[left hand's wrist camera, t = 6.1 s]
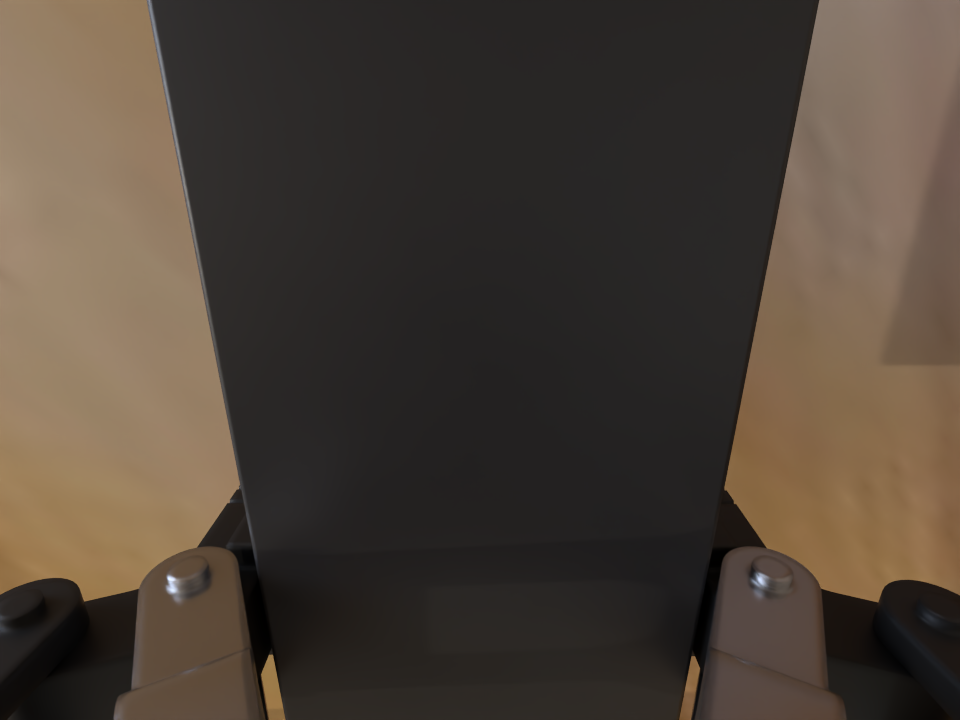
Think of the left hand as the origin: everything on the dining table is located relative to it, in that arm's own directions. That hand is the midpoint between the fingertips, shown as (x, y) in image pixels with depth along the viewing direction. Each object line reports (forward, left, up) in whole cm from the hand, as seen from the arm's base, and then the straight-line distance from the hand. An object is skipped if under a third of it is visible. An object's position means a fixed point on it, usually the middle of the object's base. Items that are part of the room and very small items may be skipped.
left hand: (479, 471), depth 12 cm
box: (+7, +2, -6) cm, 9 cm away
